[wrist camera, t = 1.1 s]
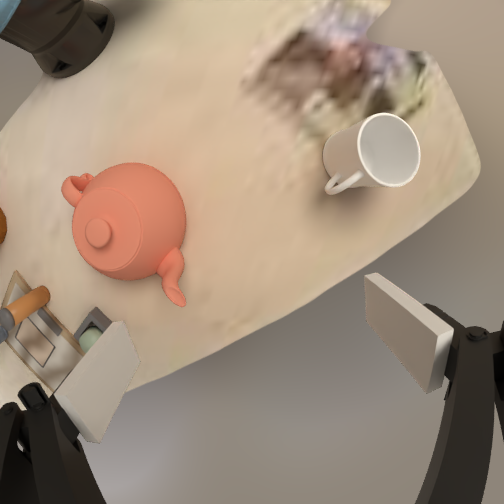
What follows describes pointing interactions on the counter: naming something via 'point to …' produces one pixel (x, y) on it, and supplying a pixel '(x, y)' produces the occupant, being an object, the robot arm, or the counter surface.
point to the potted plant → (2, 226)
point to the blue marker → (3, 334)
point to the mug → (372, 154)
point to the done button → (89, 338)
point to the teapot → (129, 224)
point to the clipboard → (42, 340)
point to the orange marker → (23, 307)
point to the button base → (96, 318)
